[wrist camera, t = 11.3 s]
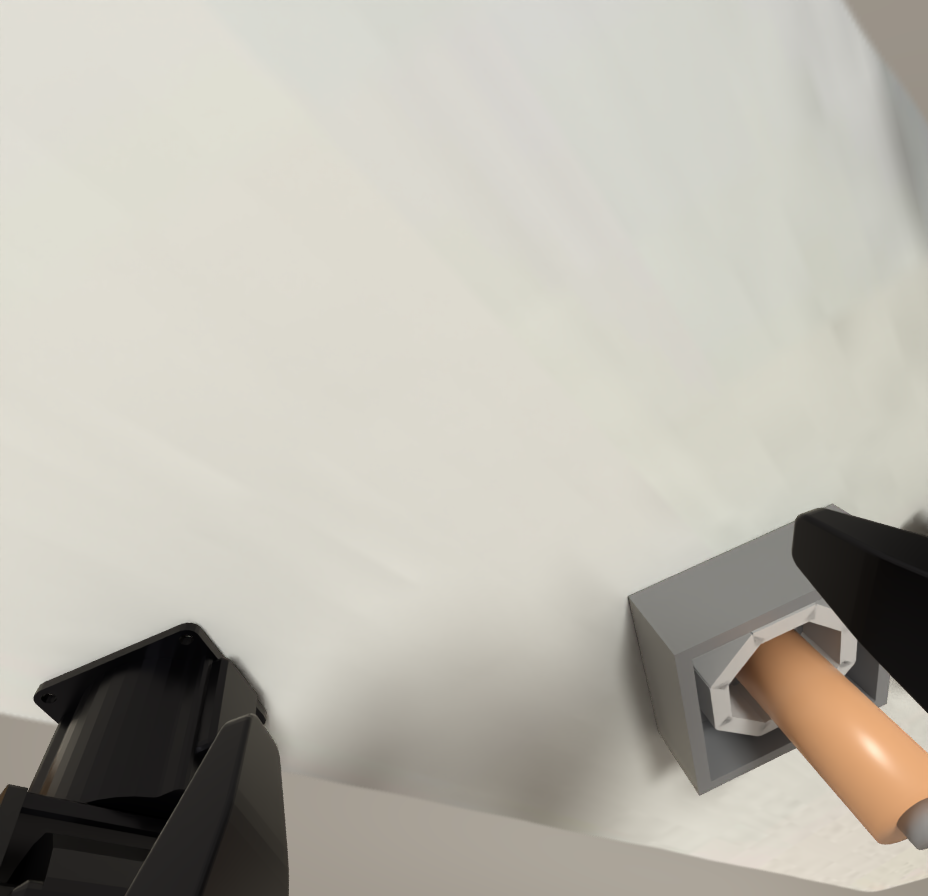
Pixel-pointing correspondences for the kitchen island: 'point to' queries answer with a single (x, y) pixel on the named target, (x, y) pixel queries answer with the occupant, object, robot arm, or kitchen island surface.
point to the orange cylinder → (843, 737)
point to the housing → (734, 653)
